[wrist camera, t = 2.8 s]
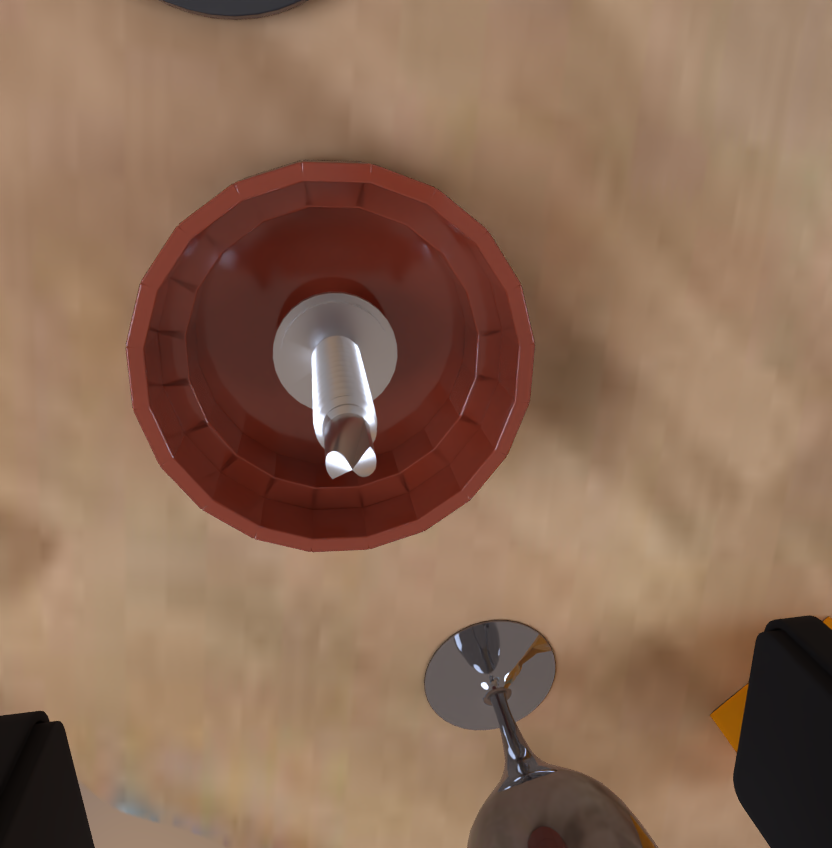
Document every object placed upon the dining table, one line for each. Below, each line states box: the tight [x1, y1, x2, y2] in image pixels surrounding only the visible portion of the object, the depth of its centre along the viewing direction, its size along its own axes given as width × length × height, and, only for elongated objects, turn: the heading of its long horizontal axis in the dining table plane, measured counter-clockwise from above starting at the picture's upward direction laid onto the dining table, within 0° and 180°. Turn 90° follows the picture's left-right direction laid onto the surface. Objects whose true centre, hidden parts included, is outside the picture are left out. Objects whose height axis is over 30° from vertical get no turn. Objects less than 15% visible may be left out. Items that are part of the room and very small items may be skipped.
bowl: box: [126, 160, 535, 552], centre depth 28 cm, size 14×14×6 cm
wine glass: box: [424, 620, 658, 848], centre depth 31 cm, size 8×8×15 cm
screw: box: [273, 292, 397, 479], centre depth 24 cm, size 13×5×5 cm
